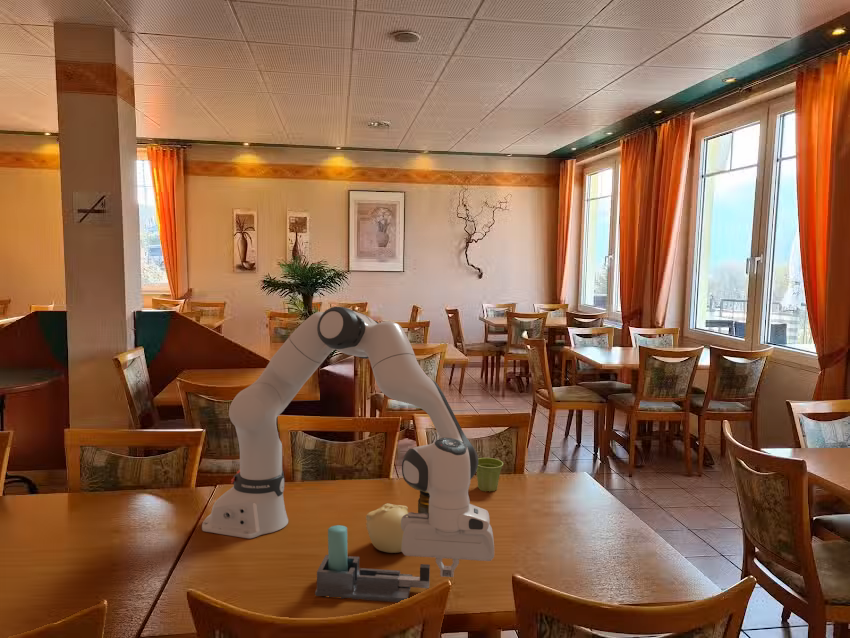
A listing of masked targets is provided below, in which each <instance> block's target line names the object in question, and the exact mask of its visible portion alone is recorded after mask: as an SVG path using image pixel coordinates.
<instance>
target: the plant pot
mask: <svg viewBox="0 0 850 638" xmlns="http://www.w3.org/2000/svg"><path fill="white" fill-rule="evenodd" d="M502 467H504V462H503V461H502V460H500V459H497V458H492V457H478V467H477V470H476V481H477V488H478V489H479V490H480V491H481V492H486V491H489V492H495V490H496V491H497V490H498V486H499V480H500V474H501V471H502ZM489 492H488V493H489Z"/></svg>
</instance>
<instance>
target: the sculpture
mask: <svg viewBox="0 0 850 638" xmlns="http://www.w3.org/2000/svg"><path fill="white" fill-rule="evenodd" d="M408 509H409V508H408V506H407V505H401V504H392V503H385V504H384V503H383V505H381V506H380V507H378V508H377V509H375V510H372V511H369V512H368V513H367V514H366V516H365V518H366V519H365V520H366V523H365V525H366V530H367V533H368V536H369V539H370V541H371V543H372V545H373V546H374V548H375V549H376V550H378V551H381V552H384V553H390V554H393V553H395V554H396V553H397V554H398V553H402V551H401V548H402V539H403V534H404V531H403V530H402V528H401V519H402V517H403V516H404V515H406V514H408V513H409V510H408ZM406 517H408V516H406Z"/></svg>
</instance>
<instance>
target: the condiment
mask: <svg viewBox="0 0 850 638" xmlns="http://www.w3.org/2000/svg"><path fill="white" fill-rule="evenodd" d="M429 498H430V495H429V493H428V492H427V491H419V498H418V499H417V500H418V501H417V504H418V505H417V513H429ZM428 519H429V518H428Z"/></svg>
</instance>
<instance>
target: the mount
mask: <svg viewBox="0 0 850 638" xmlns="http://www.w3.org/2000/svg"><path fill="white" fill-rule="evenodd" d="M347 561H348V571H333V570H329V569H328V554H325V556H324V557H323V559H322V562H321V564H320V565H319V567H318V569H317V571H316V589H315V591H314V596H315V595H316V596H329V597H341V598H340V599H344V598H352V599H351V600H359V599H362V600H361V601H375V602H376V601H377V602H389V603H390V602H391V603H400V602H399V601H401V600H404V599H407V598H408V599H409V597H410V593H411V592H410V591H411V588H412V587H401V586H398V577H383V576H375V575H376V574H381V575H396V576H412V577H413V574H409V573H408V574H407V573H401V570H396V569H395V570H394V569H383V568H382V569H379V568H367V567H366V568H365V567H363V568H362V567H360V556H352V555H351V556H350V555H349V556H348V555H347ZM329 597H328V598H329ZM363 599H364V600H363Z"/></svg>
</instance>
